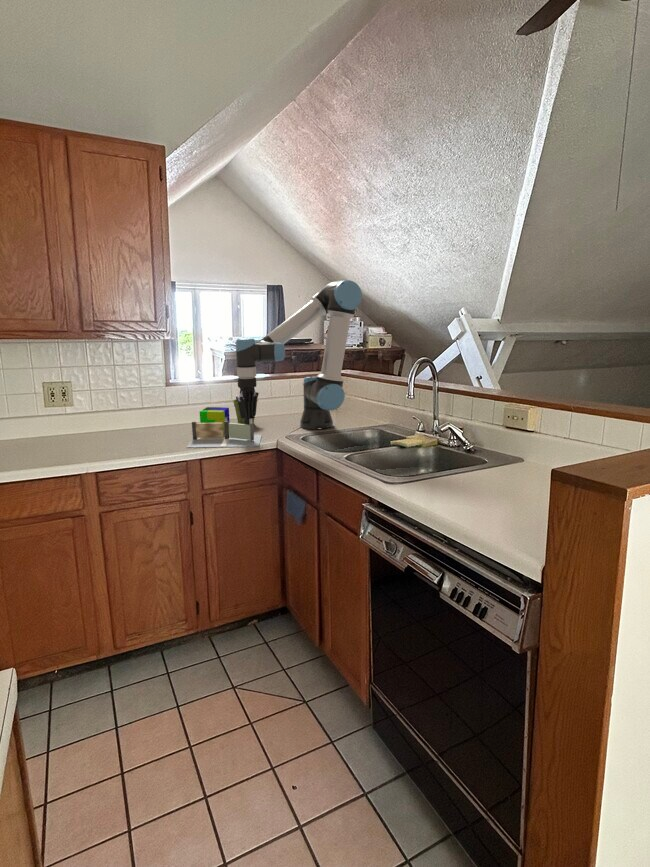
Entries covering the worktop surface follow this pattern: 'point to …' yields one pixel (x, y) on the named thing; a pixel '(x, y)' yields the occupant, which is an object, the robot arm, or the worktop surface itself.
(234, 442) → the card
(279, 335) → the robot arm
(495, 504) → the worktop surface
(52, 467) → the worktop surface
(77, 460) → the worktop surface
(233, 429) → the fence panel
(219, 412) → the puzzle toy
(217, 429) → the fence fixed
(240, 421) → the plant pot
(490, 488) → the worktop surface
